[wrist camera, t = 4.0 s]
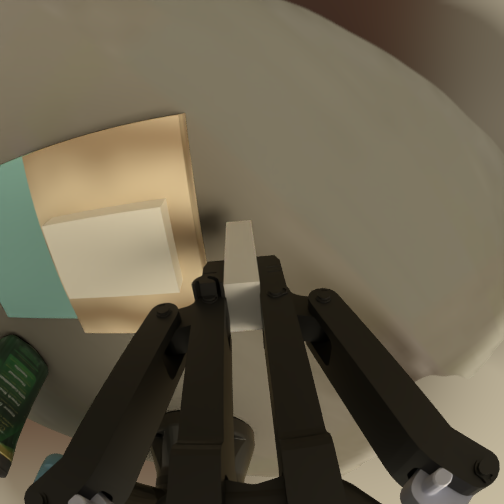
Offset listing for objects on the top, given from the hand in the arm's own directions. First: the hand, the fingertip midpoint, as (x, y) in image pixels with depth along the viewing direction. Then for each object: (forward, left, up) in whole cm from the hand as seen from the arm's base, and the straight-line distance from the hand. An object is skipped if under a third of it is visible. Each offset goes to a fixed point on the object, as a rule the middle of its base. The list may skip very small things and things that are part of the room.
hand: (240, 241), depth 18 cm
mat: (0, +21, -3) cm, 22 cm away
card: (0, +9, -1) cm, 9 cm away
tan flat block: (0, +9, -3) cm, 9 cm away
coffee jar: (-15, +31, -4) cm, 34 cm away
